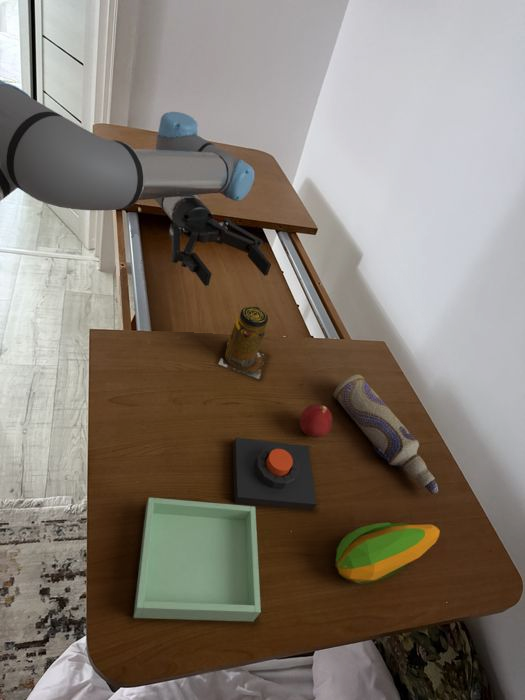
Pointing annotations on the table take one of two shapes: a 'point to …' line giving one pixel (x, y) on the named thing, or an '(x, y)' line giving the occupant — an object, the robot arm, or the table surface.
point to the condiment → (246, 340)
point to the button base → (272, 476)
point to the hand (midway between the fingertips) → (239, 274)
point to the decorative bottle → (383, 429)
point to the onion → (316, 420)
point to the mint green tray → (198, 562)
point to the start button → (279, 462)
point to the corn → (382, 550)
